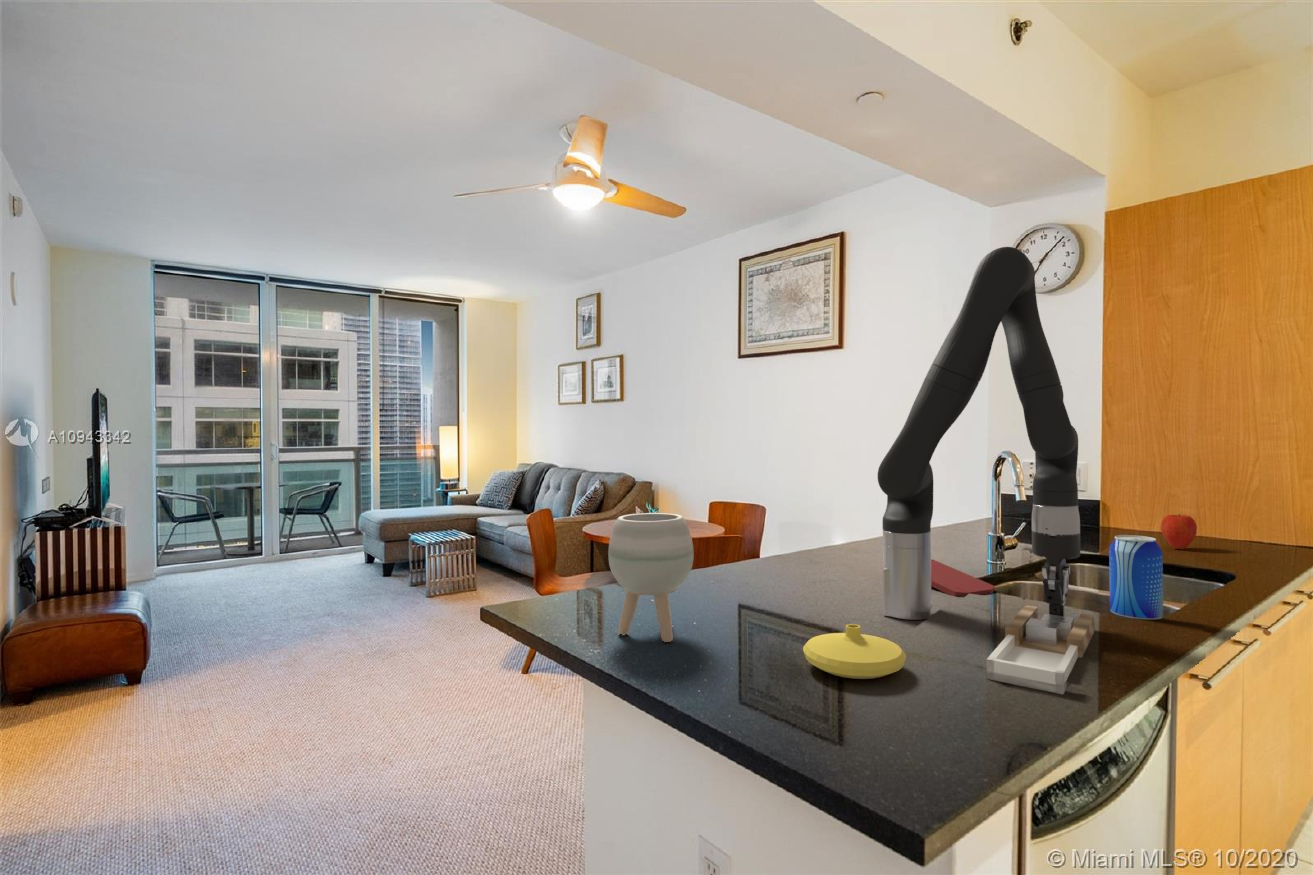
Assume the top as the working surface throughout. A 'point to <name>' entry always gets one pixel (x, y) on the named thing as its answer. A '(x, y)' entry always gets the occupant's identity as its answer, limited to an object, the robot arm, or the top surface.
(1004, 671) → the tray
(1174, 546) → the apple
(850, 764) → the top surface
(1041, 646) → the slot board
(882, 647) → the vase
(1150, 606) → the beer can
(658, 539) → the planter
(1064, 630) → the chip
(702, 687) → the top surface
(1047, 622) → the chip
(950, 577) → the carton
